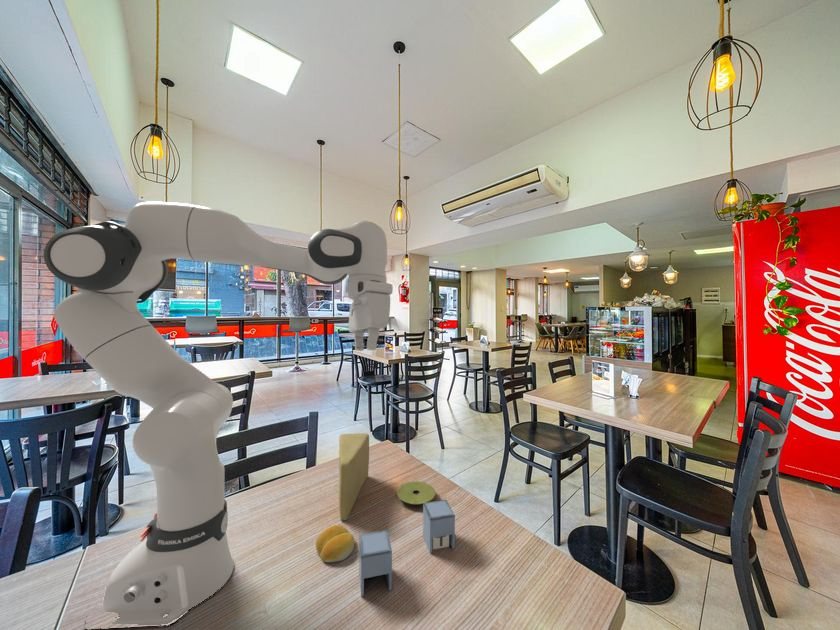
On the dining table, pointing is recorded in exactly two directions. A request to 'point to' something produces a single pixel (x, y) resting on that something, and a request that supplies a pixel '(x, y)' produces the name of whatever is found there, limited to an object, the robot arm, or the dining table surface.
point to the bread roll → (335, 544)
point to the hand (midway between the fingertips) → (365, 350)
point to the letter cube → (440, 542)
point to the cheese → (352, 469)
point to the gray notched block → (375, 557)
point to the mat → (416, 492)
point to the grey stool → (438, 522)
